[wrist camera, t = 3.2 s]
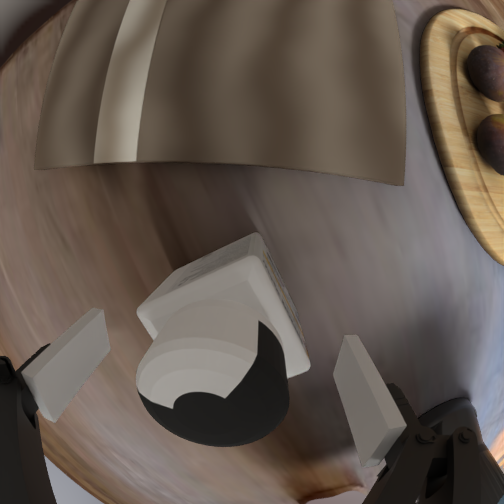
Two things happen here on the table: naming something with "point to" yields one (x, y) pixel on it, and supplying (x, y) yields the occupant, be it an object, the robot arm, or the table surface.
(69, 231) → the table surface
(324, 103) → the board
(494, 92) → the wooden plate with food
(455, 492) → the robot arm
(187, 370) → the container
